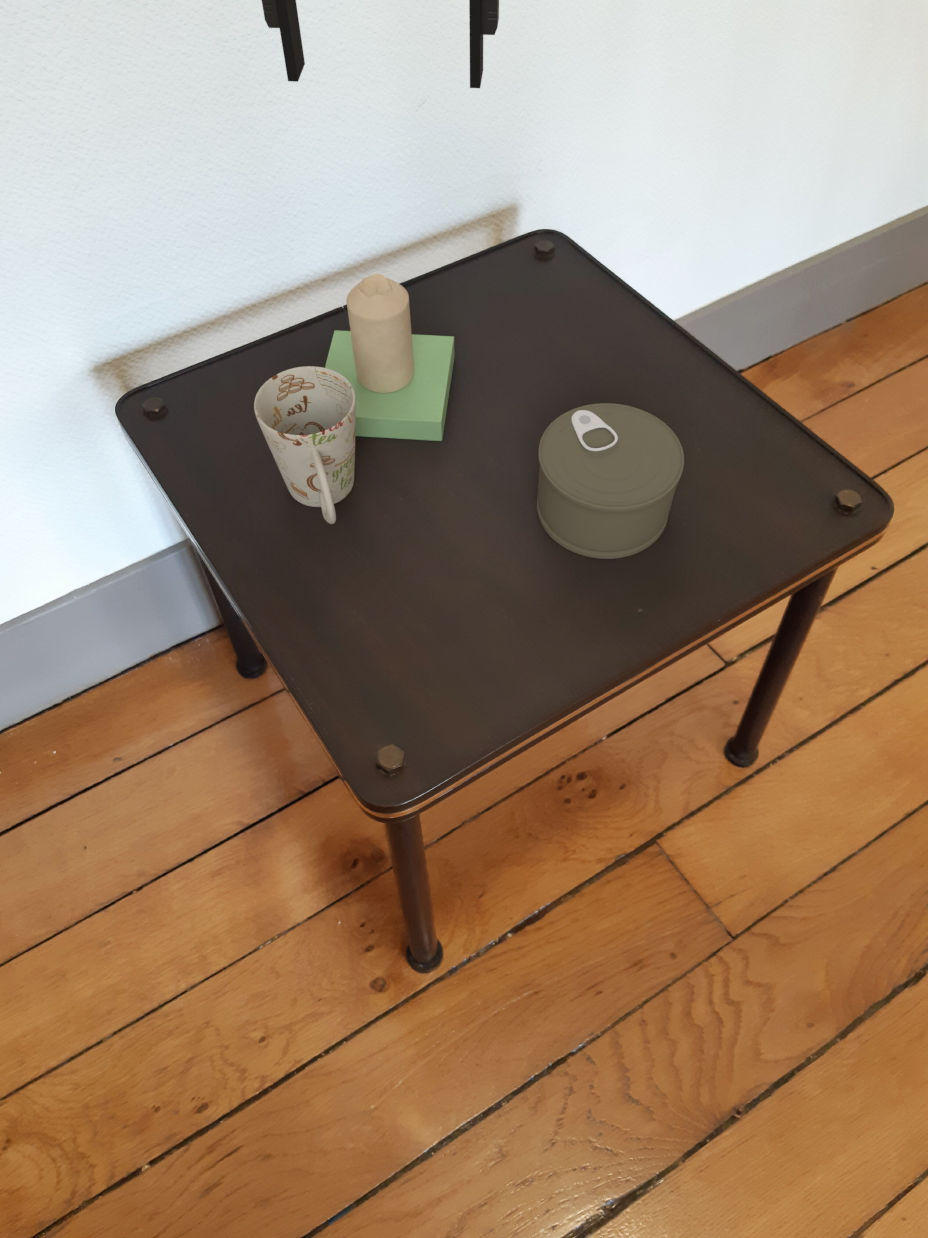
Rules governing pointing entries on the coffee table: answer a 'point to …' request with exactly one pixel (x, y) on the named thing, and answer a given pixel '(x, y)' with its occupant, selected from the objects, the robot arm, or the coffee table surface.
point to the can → (607, 479)
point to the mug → (311, 433)
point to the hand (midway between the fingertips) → (386, 75)
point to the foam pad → (401, 390)
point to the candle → (381, 334)
